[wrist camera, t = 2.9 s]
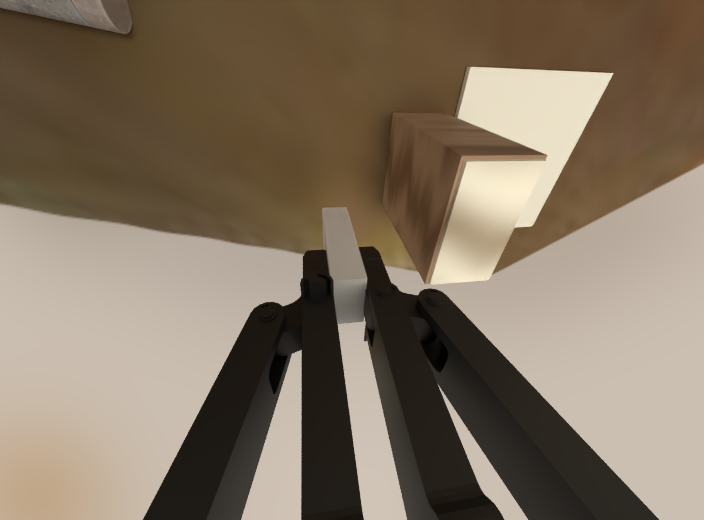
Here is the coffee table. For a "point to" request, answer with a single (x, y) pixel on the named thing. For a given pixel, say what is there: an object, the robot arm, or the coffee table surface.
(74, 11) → the rubber mallet
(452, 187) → the wooden block
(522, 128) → the felt mat
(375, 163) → the coffee table surface
